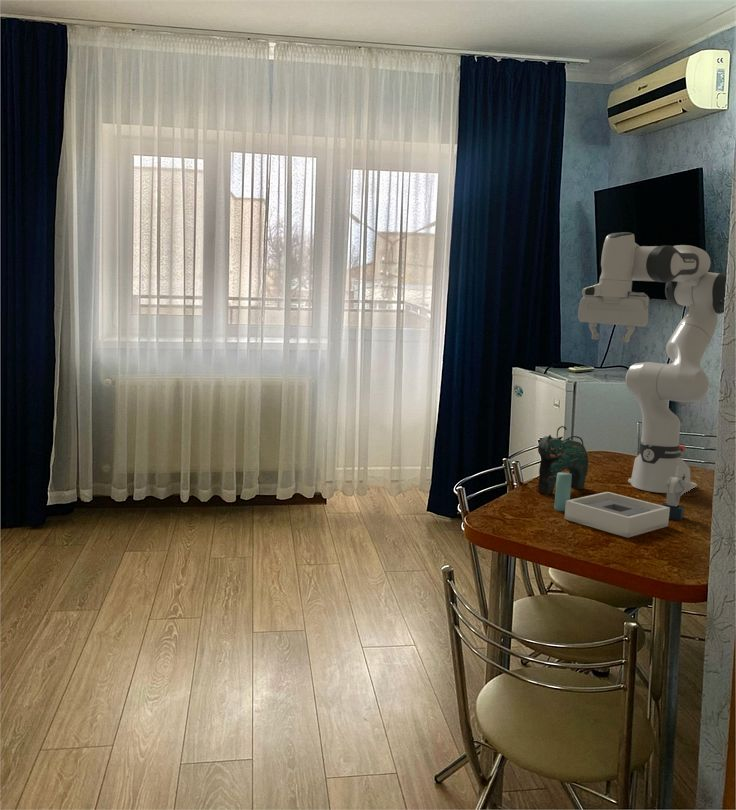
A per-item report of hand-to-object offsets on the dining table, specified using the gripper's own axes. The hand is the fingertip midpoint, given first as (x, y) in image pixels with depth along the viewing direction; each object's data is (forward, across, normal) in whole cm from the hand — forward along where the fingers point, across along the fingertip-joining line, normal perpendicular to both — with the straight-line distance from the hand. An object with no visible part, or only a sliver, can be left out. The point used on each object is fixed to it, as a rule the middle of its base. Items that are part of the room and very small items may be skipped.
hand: (610, 340), depth 235 cm
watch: (+47, -21, -4) cm, 51 cm away
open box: (+47, -15, +15) cm, 51 cm away
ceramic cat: (+47, +14, -3) cm, 49 cm away
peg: (+47, +1, +16) cm, 49 cm away
